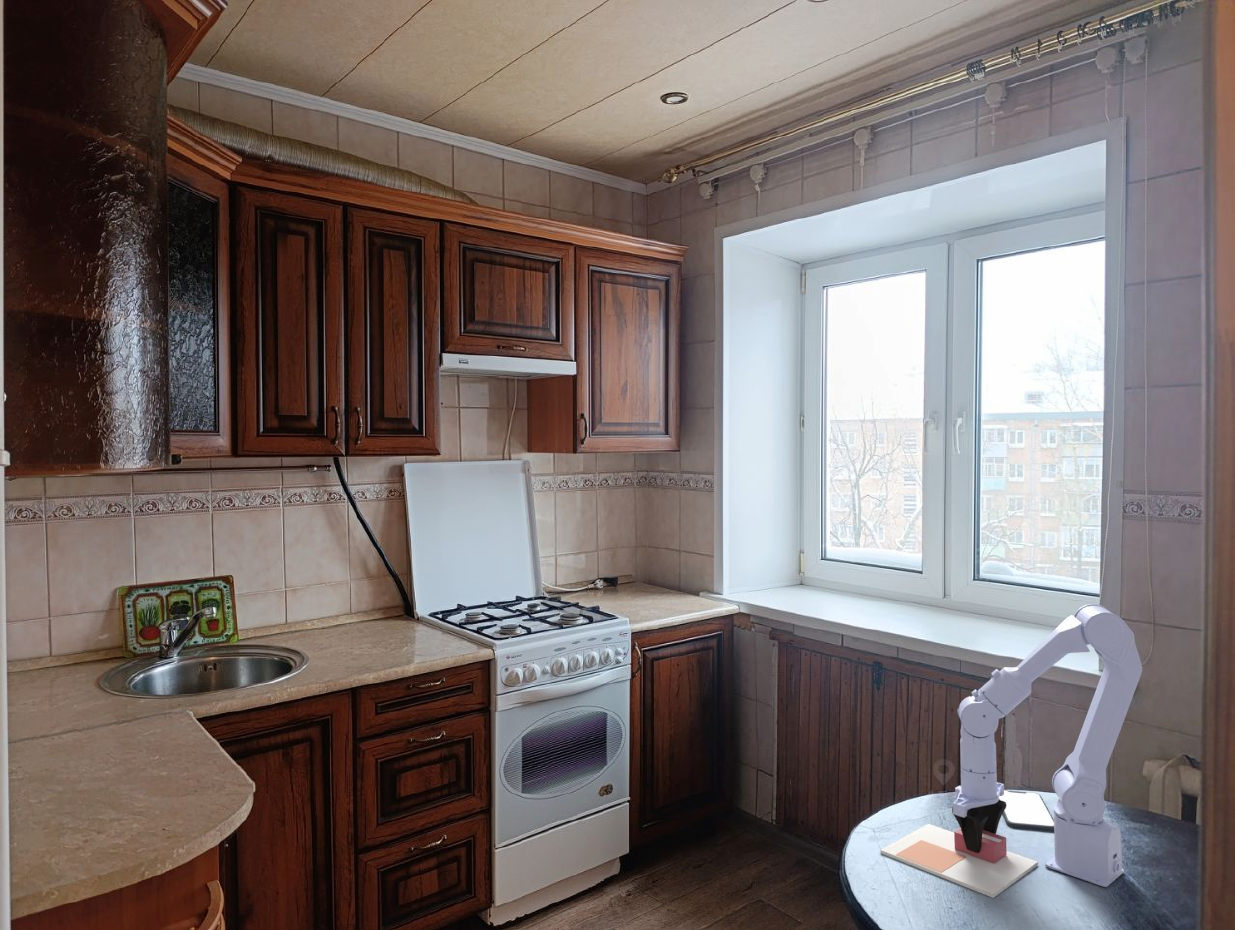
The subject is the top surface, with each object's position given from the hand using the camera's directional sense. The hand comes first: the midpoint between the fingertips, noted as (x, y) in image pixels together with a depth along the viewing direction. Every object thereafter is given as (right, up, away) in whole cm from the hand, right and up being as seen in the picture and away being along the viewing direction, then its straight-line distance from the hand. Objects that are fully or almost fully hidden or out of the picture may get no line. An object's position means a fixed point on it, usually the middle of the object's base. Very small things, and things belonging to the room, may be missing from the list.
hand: (980, 846), depth 141 cm
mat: (-4, -2, -1) cm, 5 cm away
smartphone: (+16, -2, +17) cm, 24 cm away
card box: (0, -1, 0) cm, 1 cm away
